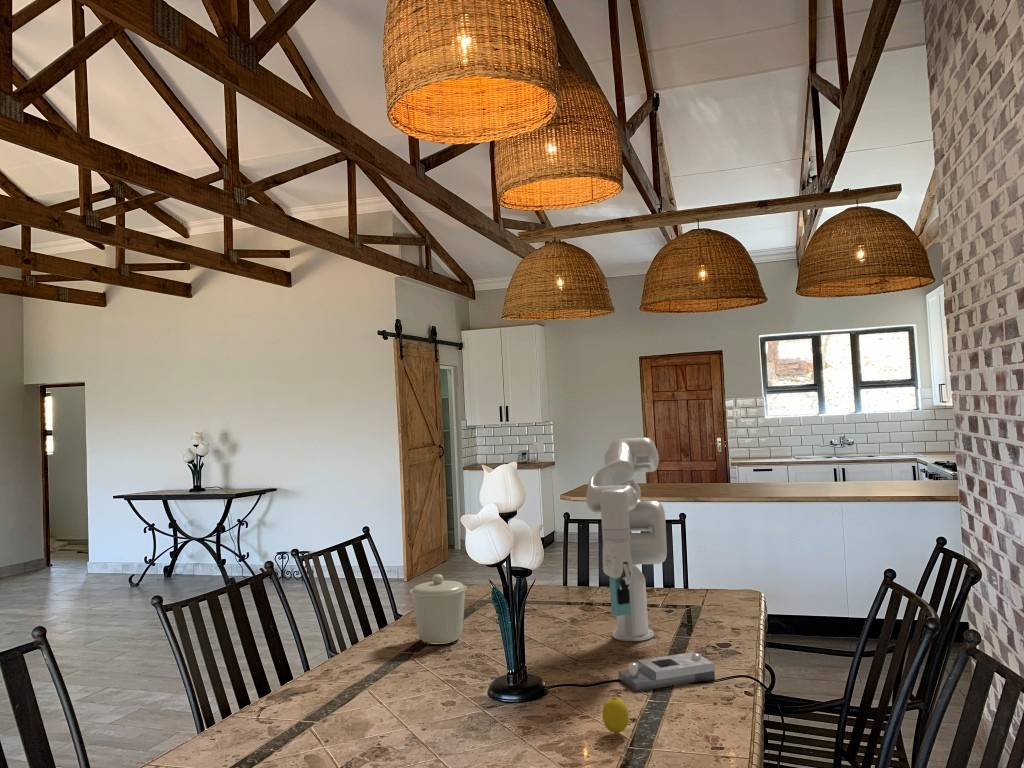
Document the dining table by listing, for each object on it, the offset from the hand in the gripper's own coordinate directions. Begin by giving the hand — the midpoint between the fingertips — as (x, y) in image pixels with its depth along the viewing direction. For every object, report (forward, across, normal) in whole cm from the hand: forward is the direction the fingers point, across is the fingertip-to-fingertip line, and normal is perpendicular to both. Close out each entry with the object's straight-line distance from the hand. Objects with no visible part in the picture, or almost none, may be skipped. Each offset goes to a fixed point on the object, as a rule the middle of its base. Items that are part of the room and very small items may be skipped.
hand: (620, 601), depth 217 cm
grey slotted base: (+18, +14, +6) cm, 23 cm away
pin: (+3, 0, 0) cm, 3 cm away
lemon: (+17, +42, -20) cm, 50 cm away
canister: (+18, -49, -41) cm, 67 cm away
